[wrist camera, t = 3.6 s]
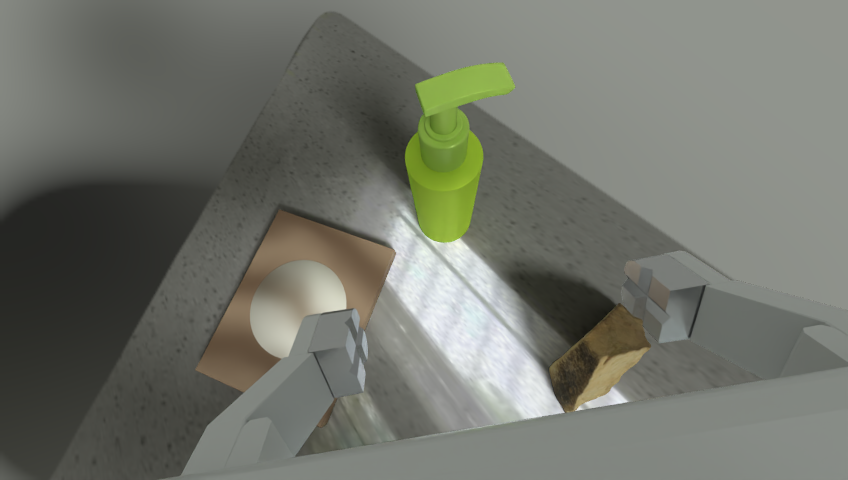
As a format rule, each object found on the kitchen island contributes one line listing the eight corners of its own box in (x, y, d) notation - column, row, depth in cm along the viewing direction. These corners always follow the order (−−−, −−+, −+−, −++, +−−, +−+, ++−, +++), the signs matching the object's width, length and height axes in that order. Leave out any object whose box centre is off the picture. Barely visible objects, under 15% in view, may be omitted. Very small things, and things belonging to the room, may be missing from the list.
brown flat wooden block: (326, 424, 32) (320, 428, 30) (205, 368, 34) (194, 370, 33) (396, 253, 36) (394, 249, 35) (285, 214, 39) (279, 209, 37)
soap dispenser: (486, 230, 37) (532, 109, 18) (426, 249, 36) (406, 147, 17) (469, 185, 38) (493, 29, 19) (412, 202, 38) (378, 62, 19)
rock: (627, 271, 32) (532, 295, 31) (718, 317, 24) (597, 353, 23) (622, 361, 36) (537, 387, 34) (700, 427, 28) (594, 464, 26)
